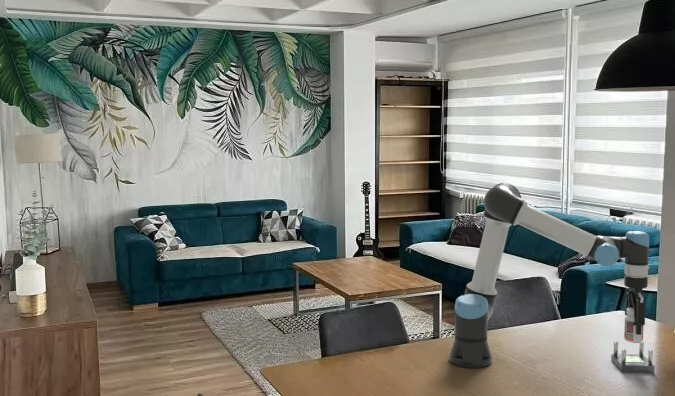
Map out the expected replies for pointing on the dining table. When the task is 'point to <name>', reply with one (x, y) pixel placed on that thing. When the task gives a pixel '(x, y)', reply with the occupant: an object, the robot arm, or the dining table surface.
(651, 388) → the dining table surface
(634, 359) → the chassis
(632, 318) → the pill bottle
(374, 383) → the dining table surface
